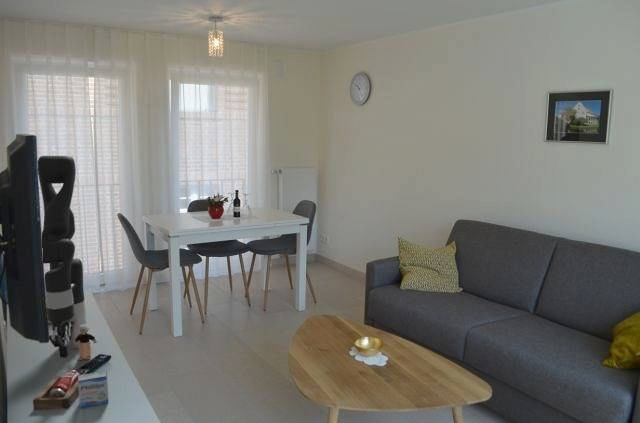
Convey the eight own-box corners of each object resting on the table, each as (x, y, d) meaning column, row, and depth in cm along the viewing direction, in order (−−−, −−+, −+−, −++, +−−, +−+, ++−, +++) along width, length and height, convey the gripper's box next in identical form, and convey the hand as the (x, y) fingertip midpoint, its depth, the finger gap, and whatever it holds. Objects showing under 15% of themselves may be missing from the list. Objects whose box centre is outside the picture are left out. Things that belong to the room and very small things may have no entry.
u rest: (56, 385, 165) (55, 376, 164) (87, 384, 165) (86, 375, 165) (33, 409, 150) (32, 400, 150) (68, 408, 151) (67, 399, 150)
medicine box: (79, 409, 151) (77, 381, 149) (80, 401, 155) (78, 374, 153) (108, 403, 154) (106, 376, 152) (108, 396, 158) (106, 369, 156)
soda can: (77, 387, 165) (61, 407, 153) (61, 381, 164) (44, 400, 153) (83, 373, 164) (68, 392, 153) (67, 367, 164) (51, 385, 152)
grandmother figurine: (74, 362, 181) (71, 328, 179) (74, 357, 184) (72, 324, 182) (97, 358, 184) (95, 324, 182) (98, 354, 187) (95, 321, 185)
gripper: (57, 296, 163) (61, 347, 166) (36, 311, 150) (41, 366, 153) (81, 296, 164) (85, 347, 166) (63, 310, 151) (67, 366, 153)
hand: (64, 356), depth 160 cm, fingers closed
